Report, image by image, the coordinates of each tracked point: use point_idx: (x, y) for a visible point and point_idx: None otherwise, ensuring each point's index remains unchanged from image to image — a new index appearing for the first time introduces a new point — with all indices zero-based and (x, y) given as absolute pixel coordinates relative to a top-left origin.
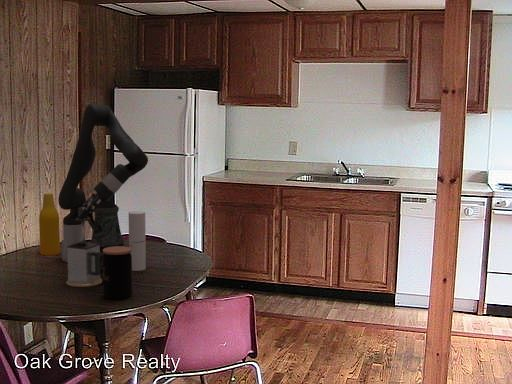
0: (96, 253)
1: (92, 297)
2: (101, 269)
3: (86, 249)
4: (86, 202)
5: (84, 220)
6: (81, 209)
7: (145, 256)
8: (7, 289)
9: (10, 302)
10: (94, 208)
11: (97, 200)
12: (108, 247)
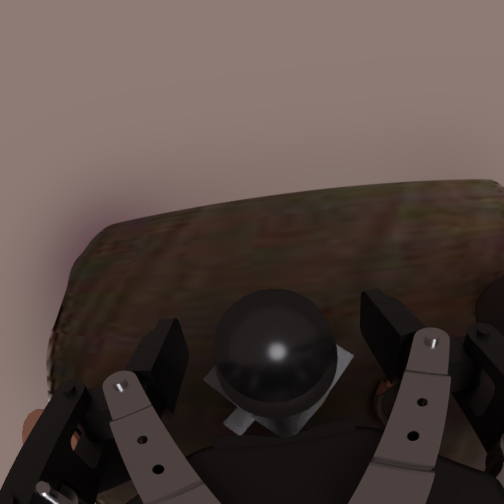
0: (226, 422)
1: None
2: (377, 416)
3: (208, 382)
4: (401, 382)
5: (217, 371)
6: (222, 331)
7: None
8: (249, 203)
9: (154, 223)
10: (82, 455)
11: (15, 495)
12: (74, 442)
